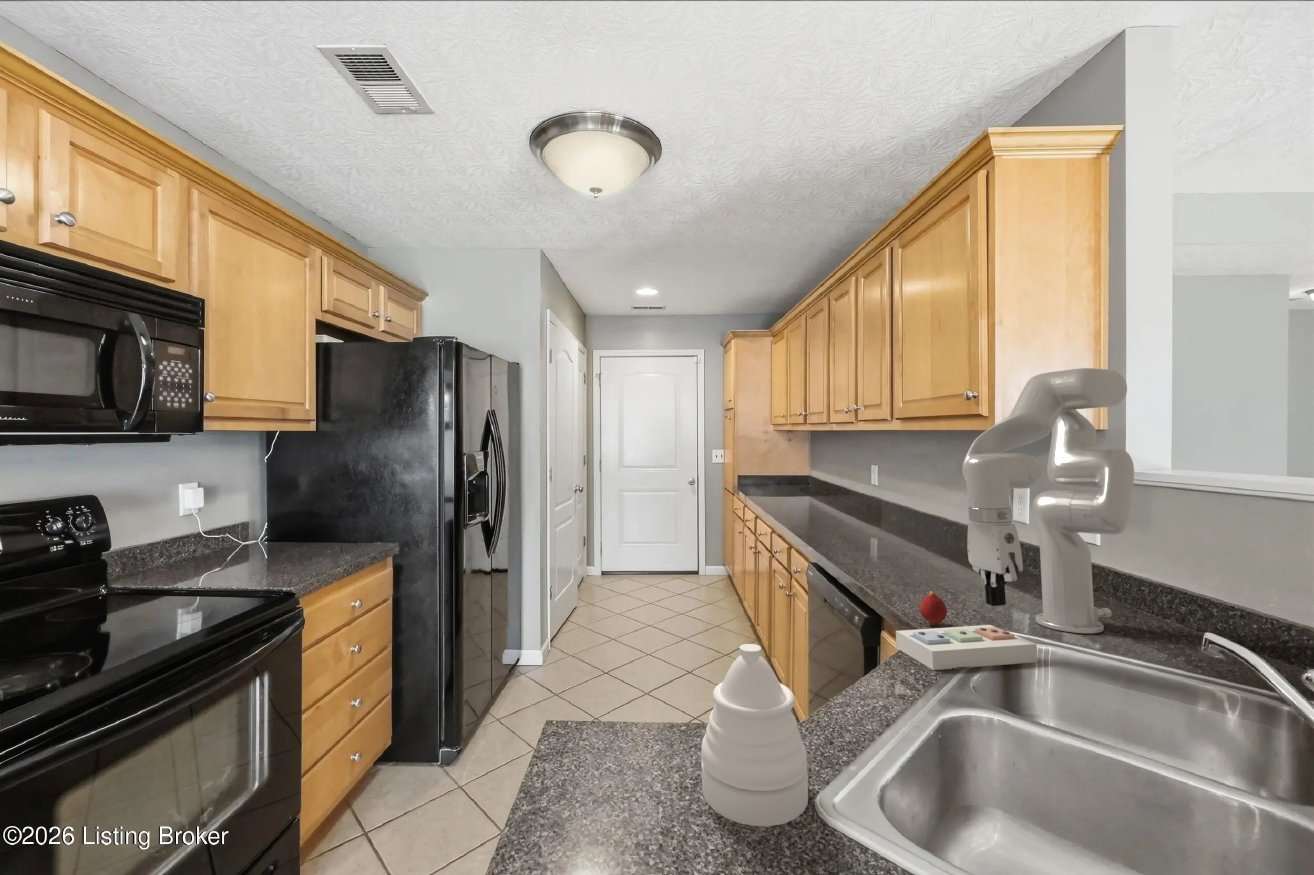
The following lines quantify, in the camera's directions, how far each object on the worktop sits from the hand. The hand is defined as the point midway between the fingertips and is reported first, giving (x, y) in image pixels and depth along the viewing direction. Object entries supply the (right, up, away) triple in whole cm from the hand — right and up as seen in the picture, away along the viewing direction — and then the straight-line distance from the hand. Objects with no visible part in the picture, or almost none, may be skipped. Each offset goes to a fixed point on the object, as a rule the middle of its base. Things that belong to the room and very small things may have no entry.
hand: (995, 604), depth 108 cm
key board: (-8, -10, -2) cm, 12 cm away
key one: (-8, -8, -2) cm, 12 cm away
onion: (-4, -11, +17) cm, 20 cm away
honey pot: (-58, -9, -44) cm, 73 cm away
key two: (-15, -9, -3) cm, 17 cm away
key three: (-1, -8, -1) cm, 8 cm away
